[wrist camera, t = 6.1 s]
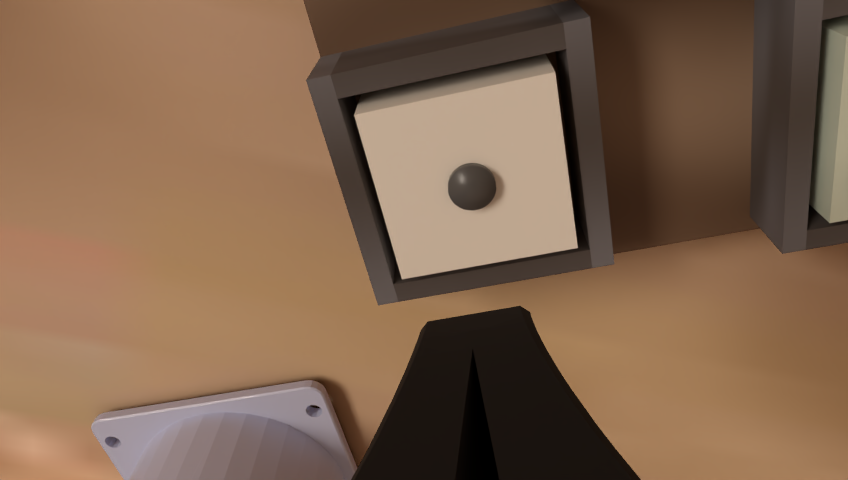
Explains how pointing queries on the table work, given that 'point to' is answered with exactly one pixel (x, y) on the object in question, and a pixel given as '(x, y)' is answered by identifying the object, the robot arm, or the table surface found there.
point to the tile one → (470, 166)
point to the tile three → (831, 124)
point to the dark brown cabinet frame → (602, 116)
